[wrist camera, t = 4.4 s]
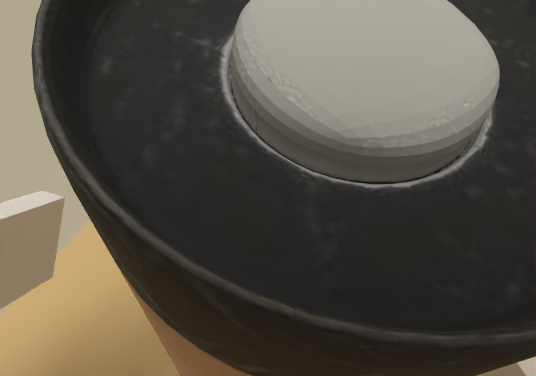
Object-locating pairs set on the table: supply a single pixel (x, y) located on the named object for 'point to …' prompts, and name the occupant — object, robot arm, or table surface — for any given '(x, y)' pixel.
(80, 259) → the table surface
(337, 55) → the travel mug
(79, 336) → the table surface
